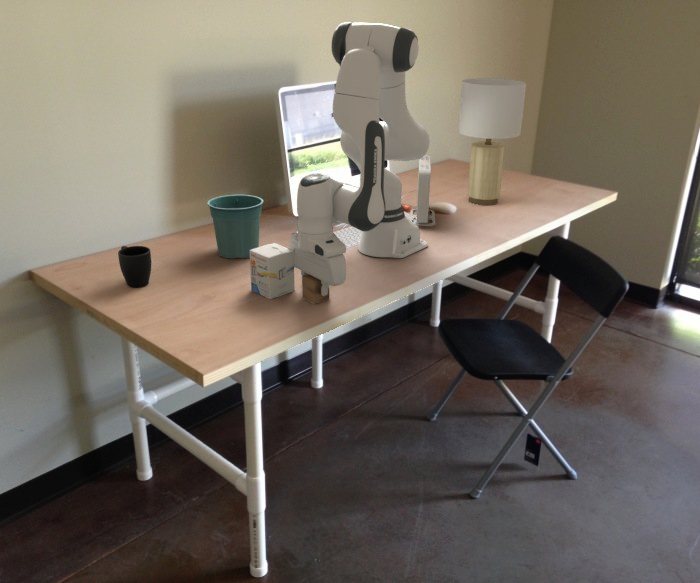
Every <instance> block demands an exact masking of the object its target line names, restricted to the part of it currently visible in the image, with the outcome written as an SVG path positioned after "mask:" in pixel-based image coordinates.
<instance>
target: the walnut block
mask: <svg viewBox="0 0 700 583" xmlns="http://www.w3.org/2000/svg"><path fill="white" fill-rule="evenodd" d="M322 285H323V284H321V280H319V279H317V278H315V277H313V276H311V275H309V274H308V275H305V276H302V275H301V288H302V289H301V294H302V299H304V300H306V301H308V302H310V303H312V304H313V305H315V304H318V303H321V302H324V301H327V300H330V287H329V288H328V294H327V295H325V296H322V295H320V294H319V288H321V287H322Z"/></svg>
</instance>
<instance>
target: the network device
mask: <svg viewBox="0 0 700 583" xmlns="http://www.w3.org/2000/svg"><path fill="white" fill-rule="evenodd" d="M431 172H432V169H431V156H430V155H427V154H425V155H424V156H423V157H422V158H421V159H418V175H417V177H418V178H417V193H416V195H417V196H416V208H413V209H412V208H411V212H410V213H409V214H411V215H413V216H415V217H417V219H416V223H418V224H416V225H418V227H433V225H434V226H436V215H435V213H436V212H435V211H434V210H433V209H430V208H429V207H430V205H429V204H430V192H431V190H430V189H431V174H432V173H431ZM432 210H433V211H432ZM413 211H414V212H416V214H414V212H413ZM428 211H431V212H432V213H431V212H430V213H431V215H429V212H428ZM428 219H431V220H430V221H431V223H428V222H429V220H428Z"/></svg>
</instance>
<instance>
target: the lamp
mask: <svg viewBox="0 0 700 583" xmlns="http://www.w3.org/2000/svg"><path fill="white" fill-rule="evenodd" d="M526 88H527V82H526V81H524V80H518V79H507V78H492V77H491V78H489V77H488V78H487V77H486V78H484V77H483V78H467V79H463V80H462V82H461V90H460V91H461V94H460V104H459V115H458V116H459V119H458V133H459V134H460V135H463V136H465V137H470V138H476V139H485V141H475V142H472V143H471V145H470V146H471V147H470V160H469V172H468V181H467V182H468V185H467V194H466V195H467V196H468V202H469V203H470V202H471V203H470V204H473V203H474V204H473V205H476V204H478V206H494V205H497V204H498V201H499V198H500V197H501V196H500V195H501V189H502V188H501V187H502V179H503V168H504V158H505V148H506V145H505V144H504V143H501V142H495V141H492V139H493V140H504V139H514V138H518V137H520V136H521V134H522V133H521V132H522V125H523V118H524V110H525V109H524V108H525V101H526V100H525V99H526Z"/></svg>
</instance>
